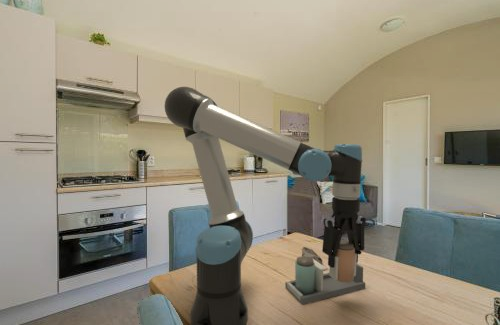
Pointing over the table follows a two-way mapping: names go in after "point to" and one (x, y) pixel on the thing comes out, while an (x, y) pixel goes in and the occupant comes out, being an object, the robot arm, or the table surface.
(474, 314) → the table surface
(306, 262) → the jar teal
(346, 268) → the jar terracotta
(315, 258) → the mineral rock
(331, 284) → the lane
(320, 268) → the pusher
